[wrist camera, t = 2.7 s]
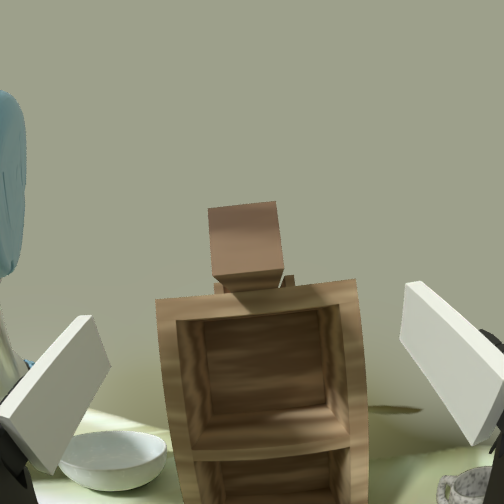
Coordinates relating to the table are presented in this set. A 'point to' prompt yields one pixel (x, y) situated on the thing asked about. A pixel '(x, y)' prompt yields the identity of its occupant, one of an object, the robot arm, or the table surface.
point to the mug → (465, 487)
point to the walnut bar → (246, 246)
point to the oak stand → (267, 394)
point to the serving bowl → (113, 459)
